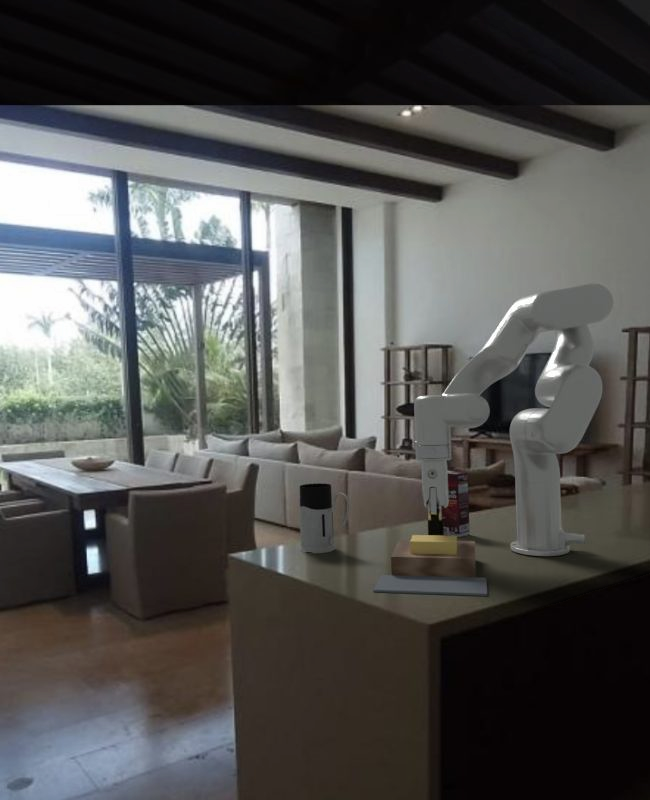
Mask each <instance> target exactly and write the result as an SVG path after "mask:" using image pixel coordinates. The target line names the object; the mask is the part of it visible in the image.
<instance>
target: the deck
mask: <svg viewBox="0 0 650 800" xmlns="http://www.w3.org/2000/svg"><path fill="white" fill-rule="evenodd" d="M410 540H411V539H399V541H398V542H397V544H396V547H395V548H394V550H393V552H392V554H391V556H390V565H391V566H390V567H391V568H390V569H391V570H390V571H391V575H406V576H440V577H474V578H476V541H474V540H457V554H413V553H410Z"/></svg>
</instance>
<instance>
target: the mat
mask: <svg viewBox="0 0 650 800" xmlns="http://www.w3.org/2000/svg"><path fill="white" fill-rule="evenodd" d="M373 593H387V594H388V593H390V594H392V593H393V594H415V595H416V594H417V595H419V594H420V595H443V596H444V595H446V596H448V595H449V596H455V595H456V596H476V597H478V596H479V597H480V596H481V597H488V585H487V577H475V578H474V577H440V576H406V575H392V574H381V575H380V577H379V579H378V580H377V582H376V584H375V587H374V588H373Z"/></svg>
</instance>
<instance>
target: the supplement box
mask: <svg viewBox="0 0 650 800" xmlns="http://www.w3.org/2000/svg"><path fill="white" fill-rule="evenodd" d="M447 471H448V493H449V503H448V506H447V507H446V508H444V506H442V519H443V525H444V535H445V536H457V538H463V537H465V536H469V535H470V531H471V530H470V507H469V506H470V505H469V504H470V503H469V502H470V501H469V499H470V498H469V473H468V472H466V471H465V472H464V471H455V470H447Z"/></svg>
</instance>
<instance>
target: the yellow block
mask: <svg viewBox="0 0 650 800" xmlns="http://www.w3.org/2000/svg"><path fill="white" fill-rule="evenodd" d="M409 540H410V553H413V554H457V541H458V537H457V536H449V535H428V534H412V536H411V539H409Z"/></svg>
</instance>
